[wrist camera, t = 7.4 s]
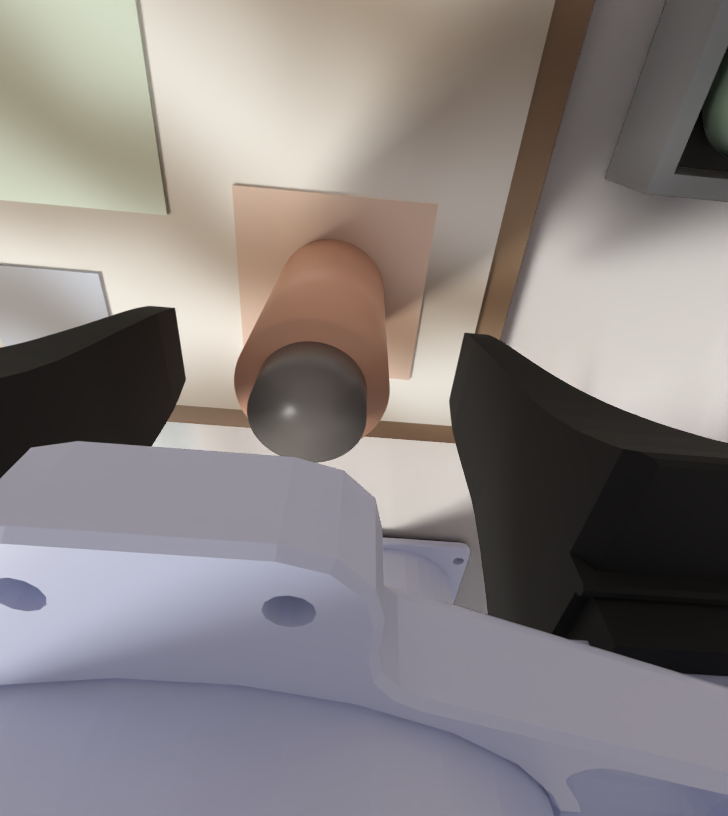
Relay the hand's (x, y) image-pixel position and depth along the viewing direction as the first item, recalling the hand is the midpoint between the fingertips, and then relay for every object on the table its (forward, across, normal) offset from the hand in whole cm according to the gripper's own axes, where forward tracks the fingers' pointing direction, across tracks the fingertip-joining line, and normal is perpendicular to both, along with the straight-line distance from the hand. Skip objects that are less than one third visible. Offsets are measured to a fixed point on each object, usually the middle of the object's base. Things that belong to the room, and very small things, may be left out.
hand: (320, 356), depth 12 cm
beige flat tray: (+5, +4, -2) cm, 7 cm away
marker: (+4, 0, 0) cm, 4 cm away
